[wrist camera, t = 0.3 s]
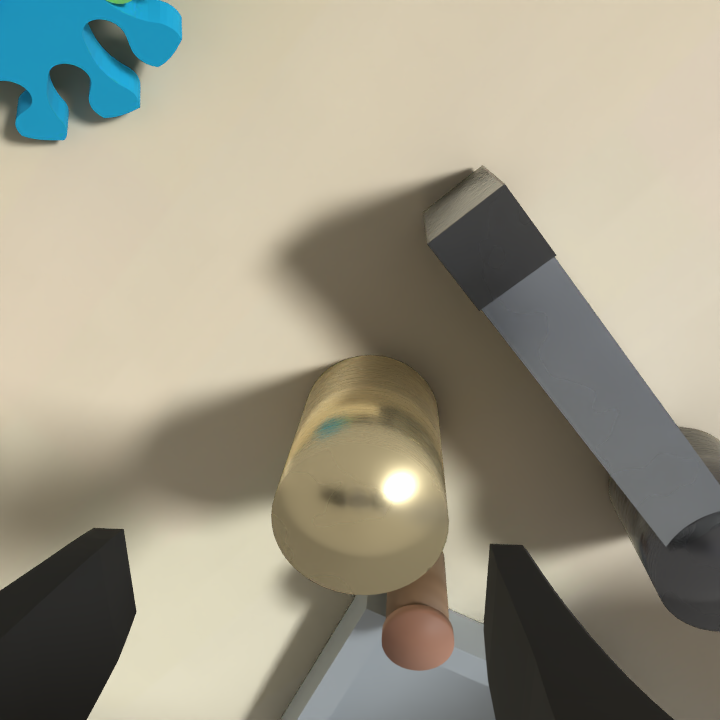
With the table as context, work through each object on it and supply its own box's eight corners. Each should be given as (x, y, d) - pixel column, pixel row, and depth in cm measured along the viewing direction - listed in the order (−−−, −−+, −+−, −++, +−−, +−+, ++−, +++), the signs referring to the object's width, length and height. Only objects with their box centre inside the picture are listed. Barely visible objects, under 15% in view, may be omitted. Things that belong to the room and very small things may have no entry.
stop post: (458, 548, 24) (467, 631, 20) (429, 592, 24) (433, 680, 21) (402, 524, 24) (401, 603, 20) (375, 568, 24) (369, 653, 21)
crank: (757, 492, 22) (843, 586, 18) (648, 552, 23) (704, 655, 19) (510, 143, 19) (541, 154, 14) (397, 233, 20) (393, 269, 15)
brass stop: (462, 391, 22) (481, 491, 16) (400, 494, 23) (398, 619, 18) (339, 332, 21) (315, 415, 16) (284, 442, 23) (244, 552, 17)
